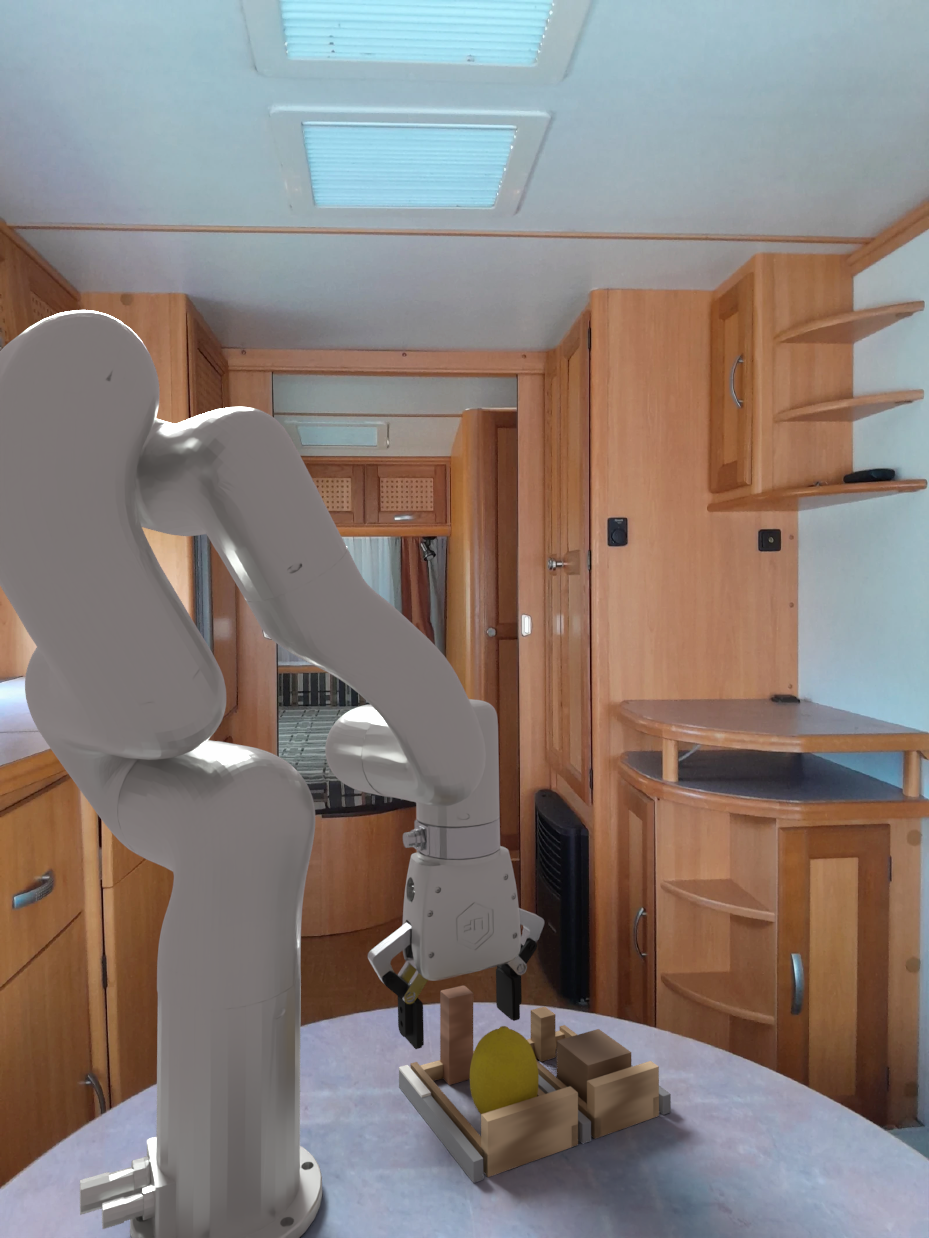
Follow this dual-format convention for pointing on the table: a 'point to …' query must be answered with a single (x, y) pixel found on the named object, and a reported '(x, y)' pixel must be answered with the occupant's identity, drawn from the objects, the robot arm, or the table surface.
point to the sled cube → (600, 1082)
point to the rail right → (664, 1101)
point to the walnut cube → (589, 1059)
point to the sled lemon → (508, 1129)
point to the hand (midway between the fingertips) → (461, 1027)
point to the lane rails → (451, 1133)
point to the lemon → (502, 1070)
